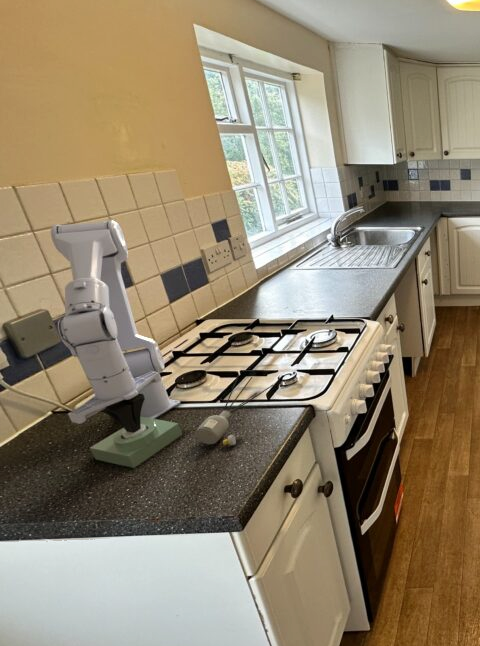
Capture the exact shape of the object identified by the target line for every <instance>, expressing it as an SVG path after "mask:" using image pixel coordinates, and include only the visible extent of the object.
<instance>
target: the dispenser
mask: <svg viewBox="0 0 480 646" xmlns="http://www.w3.org/2000/svg"><path fill="white" fill-rule="evenodd" d="M140 423H141V424H144V425H145V426H146V428H147V431H146V432H145V433H143V434H141V435H140V436H137V437H134V438H131V439H124V438H123V435H122V432H123V431H124V430H125V429H124V428H123V427H122V428H120V429H118V430H117V431H116V432H114V433H112V434H111V435H109V436H108V437H105V438H104V439H102V440H100V441H99V442H97V443H95V444H93V445H92V446H90V447H89V449H90V451H91V453H92V455H93V457H94V460H95V461H96V460H97V461H101V462H106V463H110V464H113V465H119V466H122V467H123V466H124V467H128V468H133V469H135V468H137V466H139V465H140V464H142V463H143V462H145V461H146V460H148V459H149V458H151V457H152V456H153V455H155V454H157V453H158V452H159V451H161V450H162V449H163V448H165V447H166V446H169V445H170V444H171V443H172V442H174V441H175V440H177V439H179V437H181V436H182V435H183V432H182V429H181V426H180V424H179V423H178V422H173V421H167V420H163V419H157V418H155V419H152V418H147V417H141V418H140Z"/></svg>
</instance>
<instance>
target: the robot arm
mask: <svg viewBox="0 0 480 646" xmlns="http://www.w3.org/2000/svg"><path fill="white" fill-rule="evenodd" d="M50 237H51V240H52V243H53V246H54V247H55V249H56V250H57V251H58V252H59V254H61V256H63V257H64V258H65V259H66V260H67V261H68V262H69V264H70V271H71V275H72V281H69V282H68V283H67V284H65V287H64V316H63V319H59V320H58V321H57V331H58V334H59V336H60V340H61V342H62V343H63V344H64V345H65V347H66V348H67V349H68V350H69V351H70V353H71V355H72V356H73V357H74V358H77V360H78V361H79V364H80V366H81V368H82V370H83V372H84V374H85V376H86V379H87V381H88V383H89V385H90V387H91V389H92V392H93V393H94V396H92V397H91V398H90V399H88V400H86V402H84V403H83V404H81V405H80V406H78V407H77V408H75V409H74V410H72V411H70V412H68V413H67V416H68V417H69V419H70V421H71V423H73V424H79V425H82V424H83V423H85V422H86V421H87V419H89V418H90V417H93V416H94V415H96V414H98V413H99V412H102V413H104V414H105V415H107V416H109V417H110V418H112V419H114V420H115V421H116V422H117V423H118V424H119V425H120V426H121V427H122V428H124V429H125V430H126V431H127V432H132V433H134V432H136V431H138V430H139V429H141V423H140V418H141V417H147V418H152V419H157V418H158V417H160V416H162V415H164V414H165V413H167V412H168V411H170V410H171V409H173V408H175V407H177V406H178V405H180V404H181V401H180V400H177V399H172V398H170V397H169V395H168V392H167V390H166V387H165V385H164V384H165V383H164V382H163V379H162V377H161V373H163V371H164V370H165V360H164V356H163V354H162V352H161V350H160V347H159V345H158V342H157V341H156V340H154V339H153V338H150V337H147V336H143V335H140V334H139V332H138V329H137V326H136V321H135V319H134V315H133V311H132V307H131V304H130V301H129V297H128V294H127V289H126V286H125V282H124V279H123V276H122V267H121V265H122V263H124V262H125V261H127V260H129V251H128V247H127V243H126V240H125V236H124V232H123V230H122V228H121V226H120V225H119V223H118V222H116V221H114V220H113V219H109V220H106V221H95V222H83V223H73V224H54V225H52V227H51V228H50ZM140 348H142V349H140ZM135 349H137V350H135ZM130 350H132V351H130ZM126 351H127V352H126Z"/></svg>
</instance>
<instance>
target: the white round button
mask: <svg viewBox="0 0 480 646" xmlns="http://www.w3.org/2000/svg"><path fill="white" fill-rule="evenodd" d="M146 431H147V428H146V426H145V425H144V424H141V429H139V430H138V431H136V432H134V433H132V432H127V431H126V430H124V431H123V432H122V435H123V438H124V439H131V438H134V437H137V436H140V435H141V434H143V433H145V432H146Z"/></svg>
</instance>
